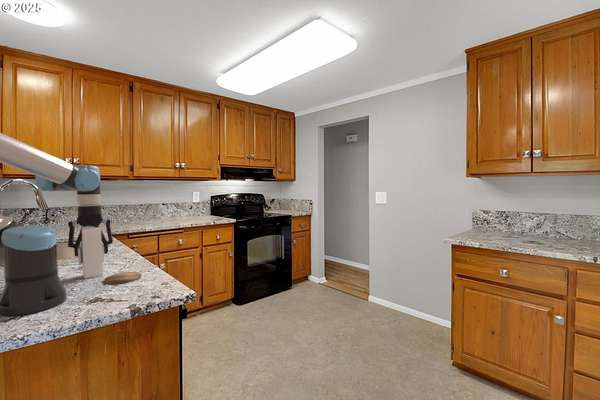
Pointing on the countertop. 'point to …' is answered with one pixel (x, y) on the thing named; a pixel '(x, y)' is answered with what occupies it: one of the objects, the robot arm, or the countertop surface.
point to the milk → (91, 251)
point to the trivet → (122, 278)
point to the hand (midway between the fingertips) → (92, 262)
